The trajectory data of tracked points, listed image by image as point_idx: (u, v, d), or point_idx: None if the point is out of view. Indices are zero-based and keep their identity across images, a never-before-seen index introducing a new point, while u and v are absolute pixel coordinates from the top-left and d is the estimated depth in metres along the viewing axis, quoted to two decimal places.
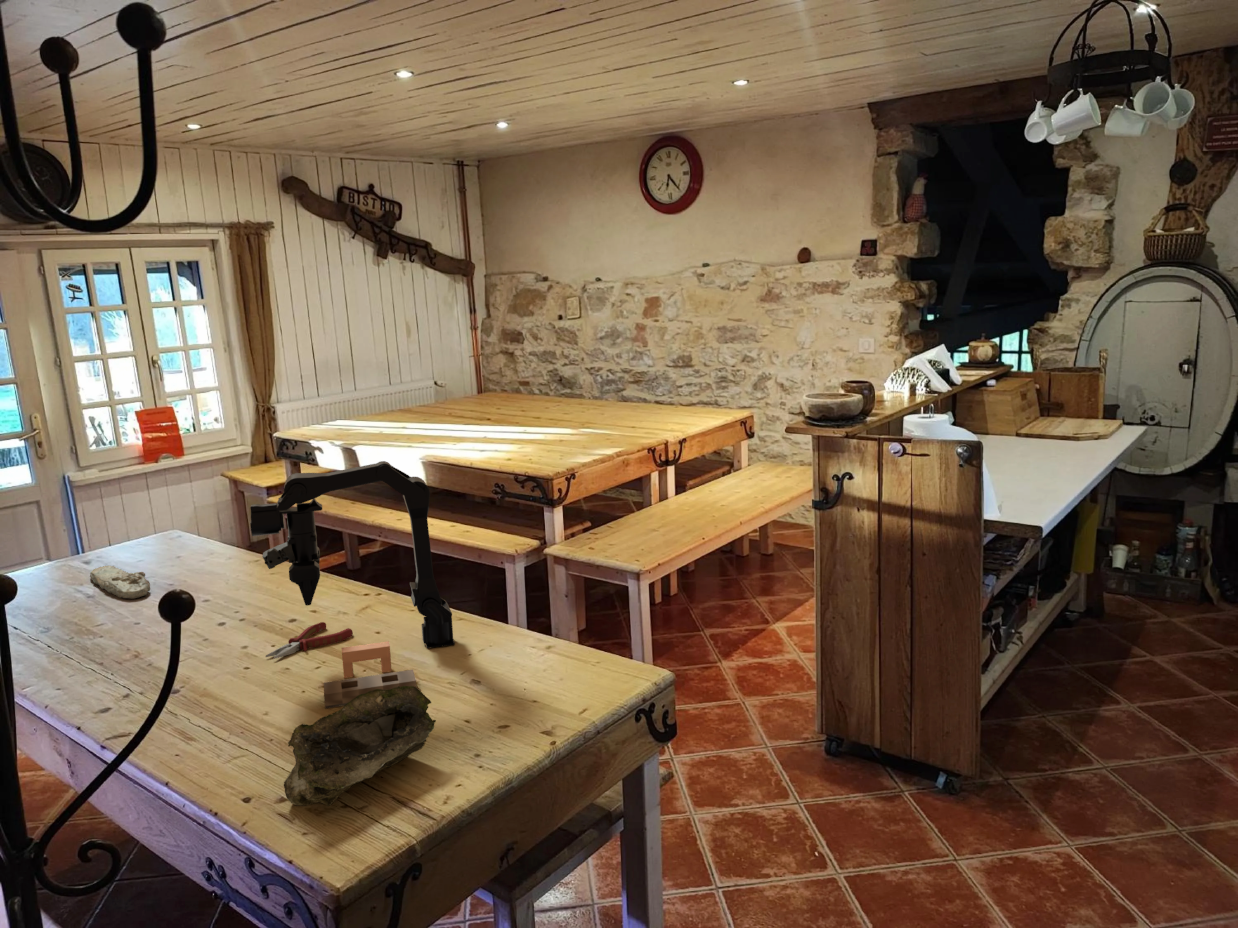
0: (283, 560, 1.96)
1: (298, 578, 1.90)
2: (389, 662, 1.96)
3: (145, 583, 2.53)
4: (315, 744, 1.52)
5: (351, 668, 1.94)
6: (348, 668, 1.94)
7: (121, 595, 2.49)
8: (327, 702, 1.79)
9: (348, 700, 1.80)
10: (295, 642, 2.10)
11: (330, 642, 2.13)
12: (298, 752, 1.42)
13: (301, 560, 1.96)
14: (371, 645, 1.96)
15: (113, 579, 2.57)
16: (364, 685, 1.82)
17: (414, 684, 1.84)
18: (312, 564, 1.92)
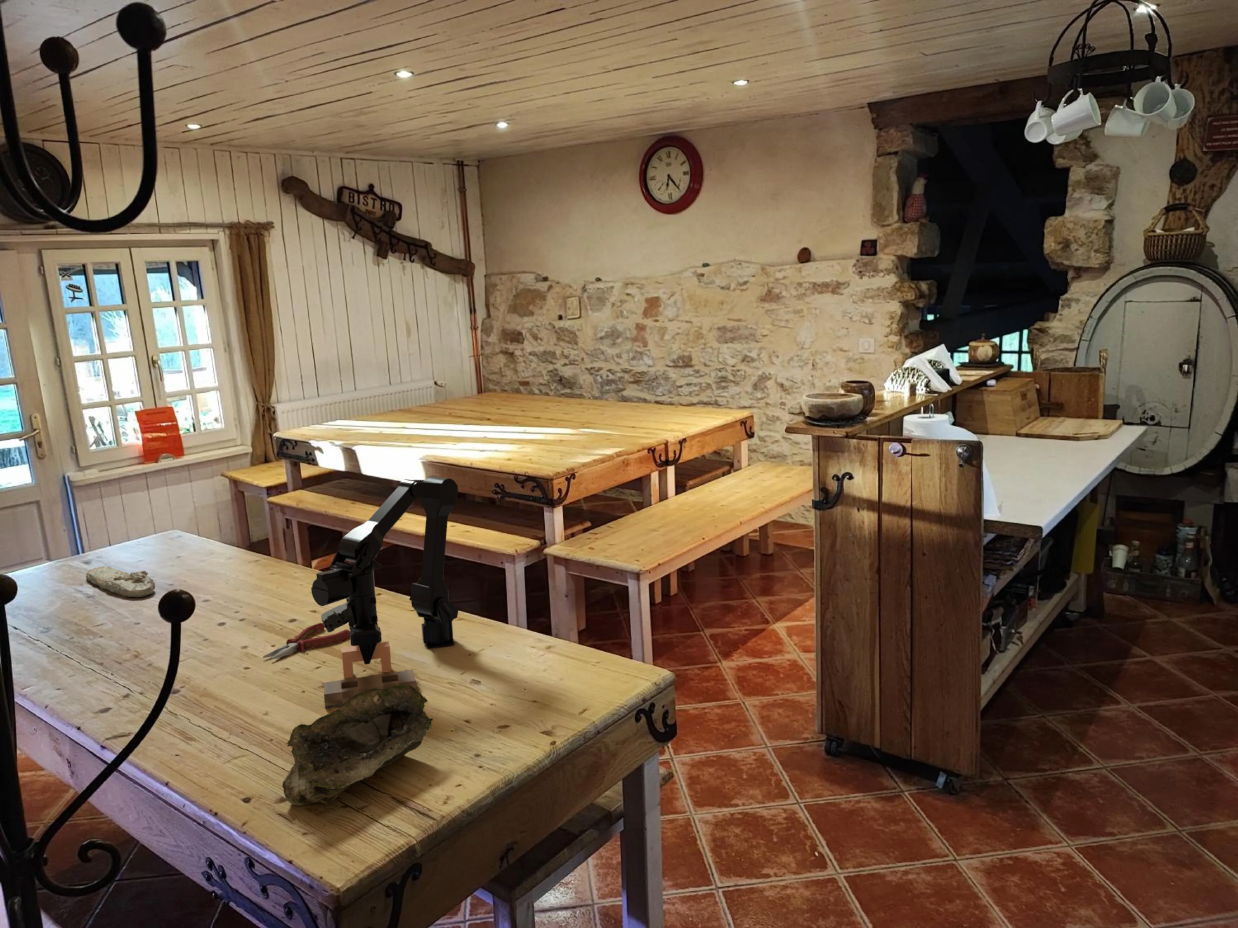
0: (342, 623, 1.90)
1: (360, 643, 1.85)
2: (389, 662, 1.96)
3: (150, 582, 2.54)
4: (312, 744, 1.52)
5: (351, 668, 1.94)
6: (348, 668, 1.94)
7: (127, 594, 2.50)
8: (327, 702, 1.79)
9: None
10: (293, 643, 2.10)
11: (328, 643, 2.13)
12: (298, 752, 1.42)
13: (361, 623, 1.91)
14: None
15: (115, 579, 2.57)
16: (364, 685, 1.82)
17: (414, 684, 1.84)
18: (374, 628, 1.87)
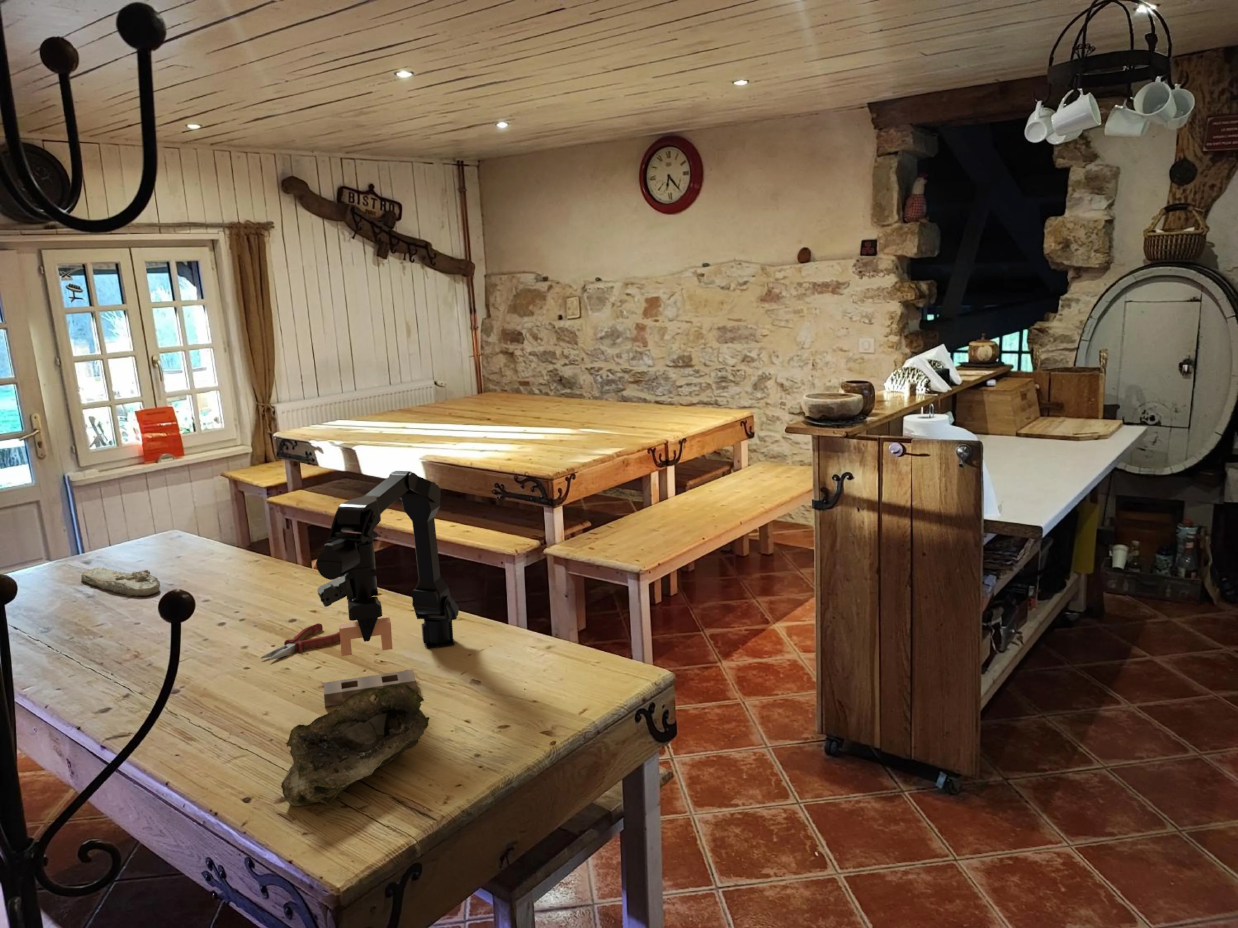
0: (340, 597, 1.77)
1: (359, 618, 1.72)
2: (390, 639, 1.83)
3: (155, 580, 2.56)
4: (310, 744, 1.52)
5: (349, 645, 1.81)
6: (346, 645, 1.81)
7: (133, 593, 2.51)
8: (327, 702, 1.79)
9: None
10: (291, 644, 2.09)
11: (326, 644, 2.12)
12: (297, 753, 1.42)
13: (360, 597, 1.78)
14: None
15: (117, 578, 2.57)
16: (364, 685, 1.82)
17: (414, 684, 1.84)
18: (374, 602, 1.74)
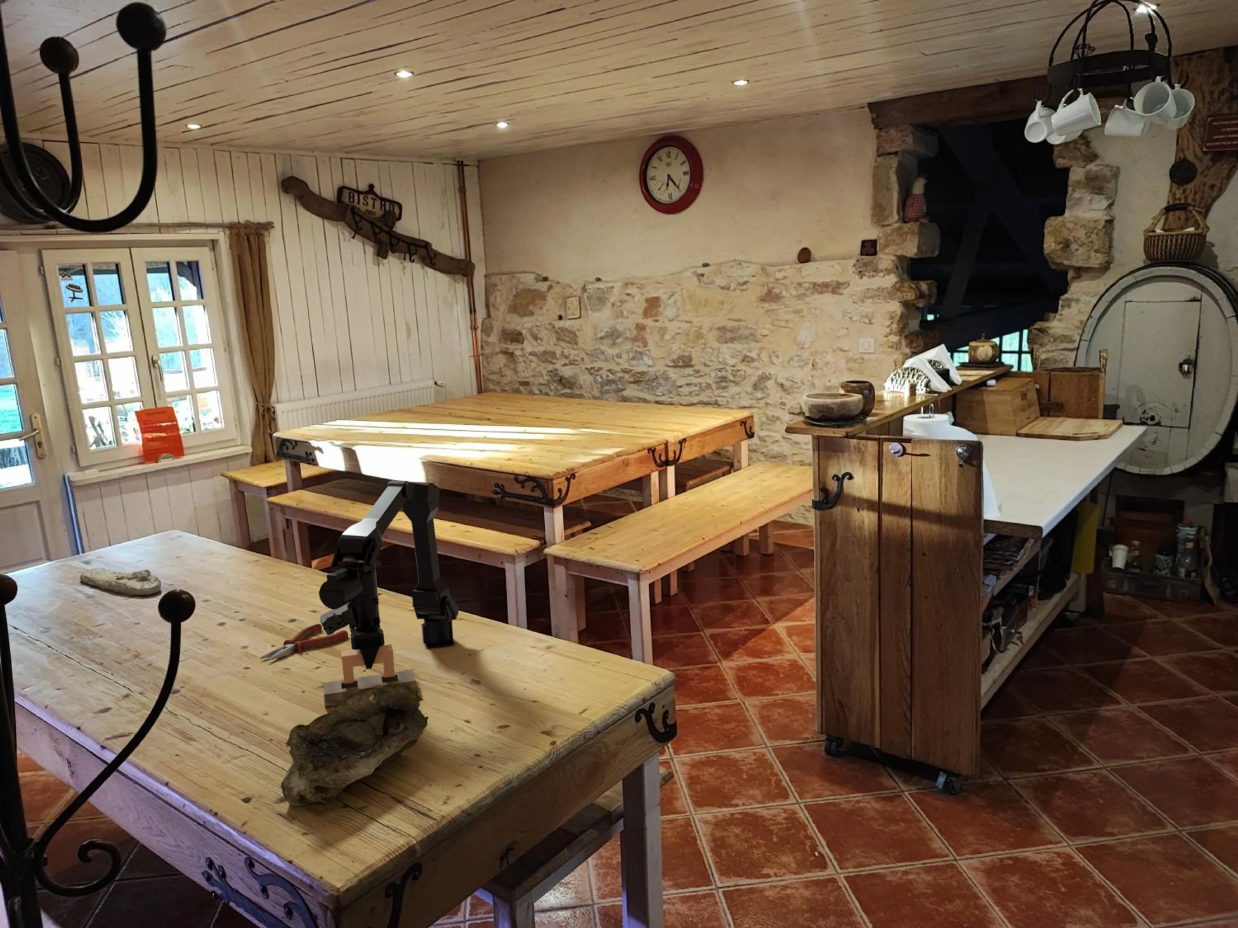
0: (343, 625, 1.78)
1: (361, 647, 1.73)
2: (392, 666, 1.84)
3: (156, 579, 2.56)
4: (309, 744, 1.52)
5: (352, 673, 1.82)
6: (348, 673, 1.82)
7: (135, 592, 2.51)
8: (327, 702, 1.79)
9: None
10: (290, 644, 2.09)
11: (325, 644, 2.12)
12: (297, 753, 1.42)
13: (362, 625, 1.79)
14: None
15: (118, 578, 2.57)
16: (364, 685, 1.82)
17: (414, 684, 1.84)
18: (376, 631, 1.75)
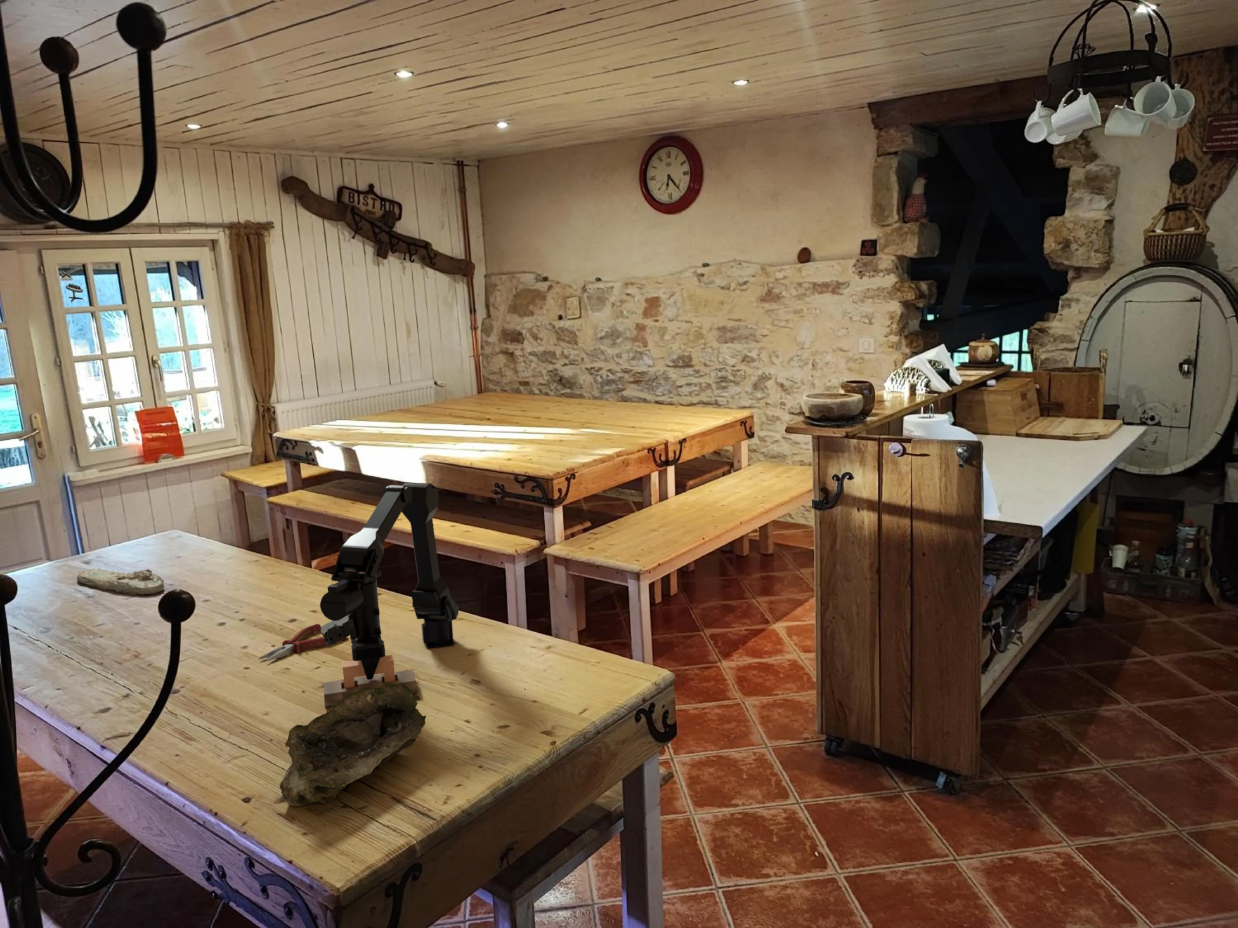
0: (344, 636, 1.79)
1: (362, 658, 1.74)
2: (393, 677, 1.85)
3: (159, 579, 2.57)
4: (307, 745, 1.52)
5: (352, 684, 1.82)
6: (349, 684, 1.82)
7: (138, 592, 2.52)
8: (327, 702, 1.79)
9: None
10: (289, 644, 2.09)
11: (324, 645, 2.12)
12: (296, 753, 1.42)
13: (363, 636, 1.80)
14: None
15: (119, 578, 2.57)
16: (364, 685, 1.82)
17: (414, 684, 1.84)
18: (377, 642, 1.75)
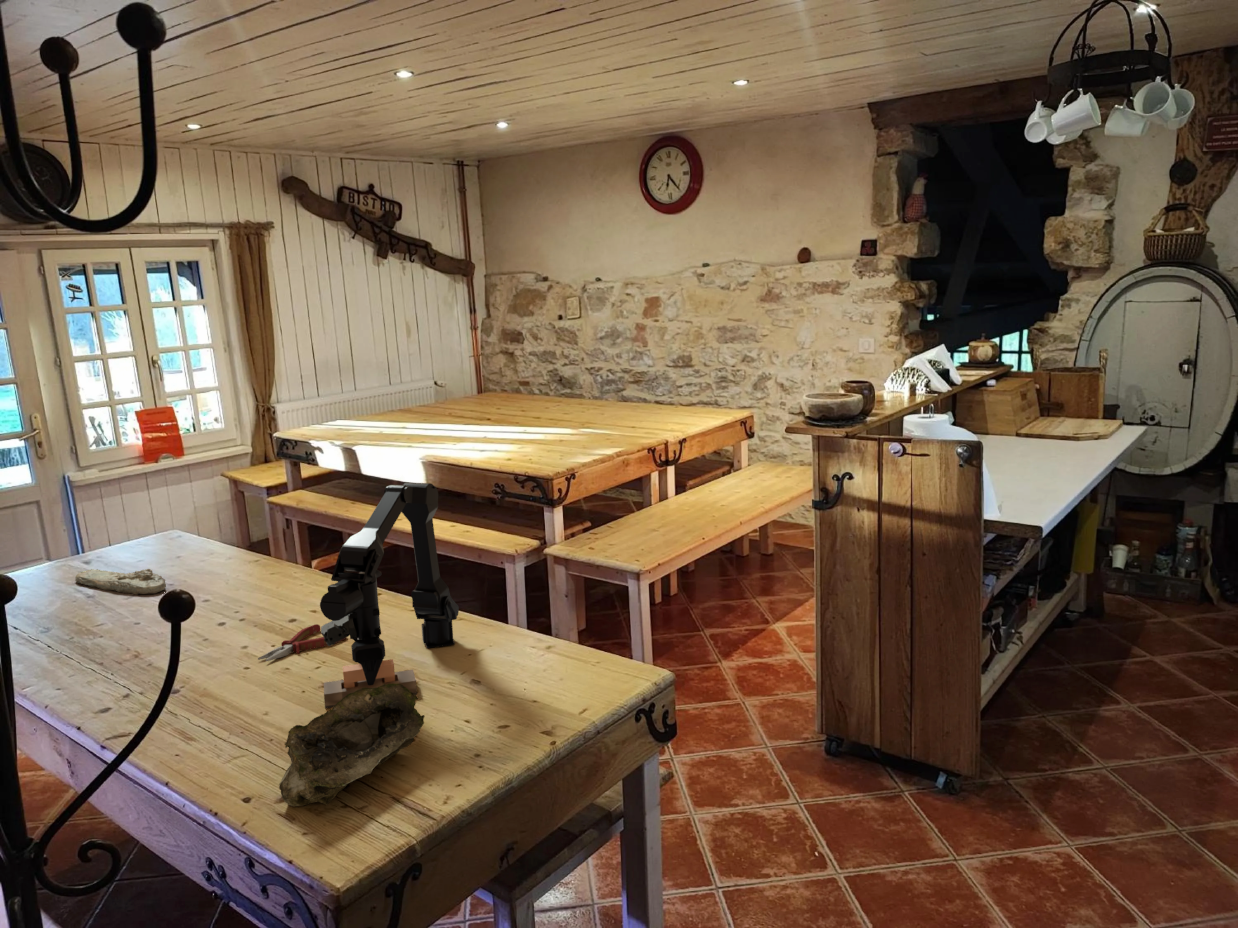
0: (344, 636, 1.79)
1: (362, 658, 1.74)
2: None
3: (160, 578, 2.57)
4: (306, 745, 1.52)
5: None
6: None
7: (140, 591, 2.52)
8: (327, 702, 1.79)
9: None
10: (288, 644, 2.09)
11: (323, 645, 2.12)
12: (296, 753, 1.42)
13: (363, 636, 1.80)
14: None
15: (120, 578, 2.57)
16: (364, 685, 1.82)
17: (414, 684, 1.84)
18: (377, 642, 1.75)
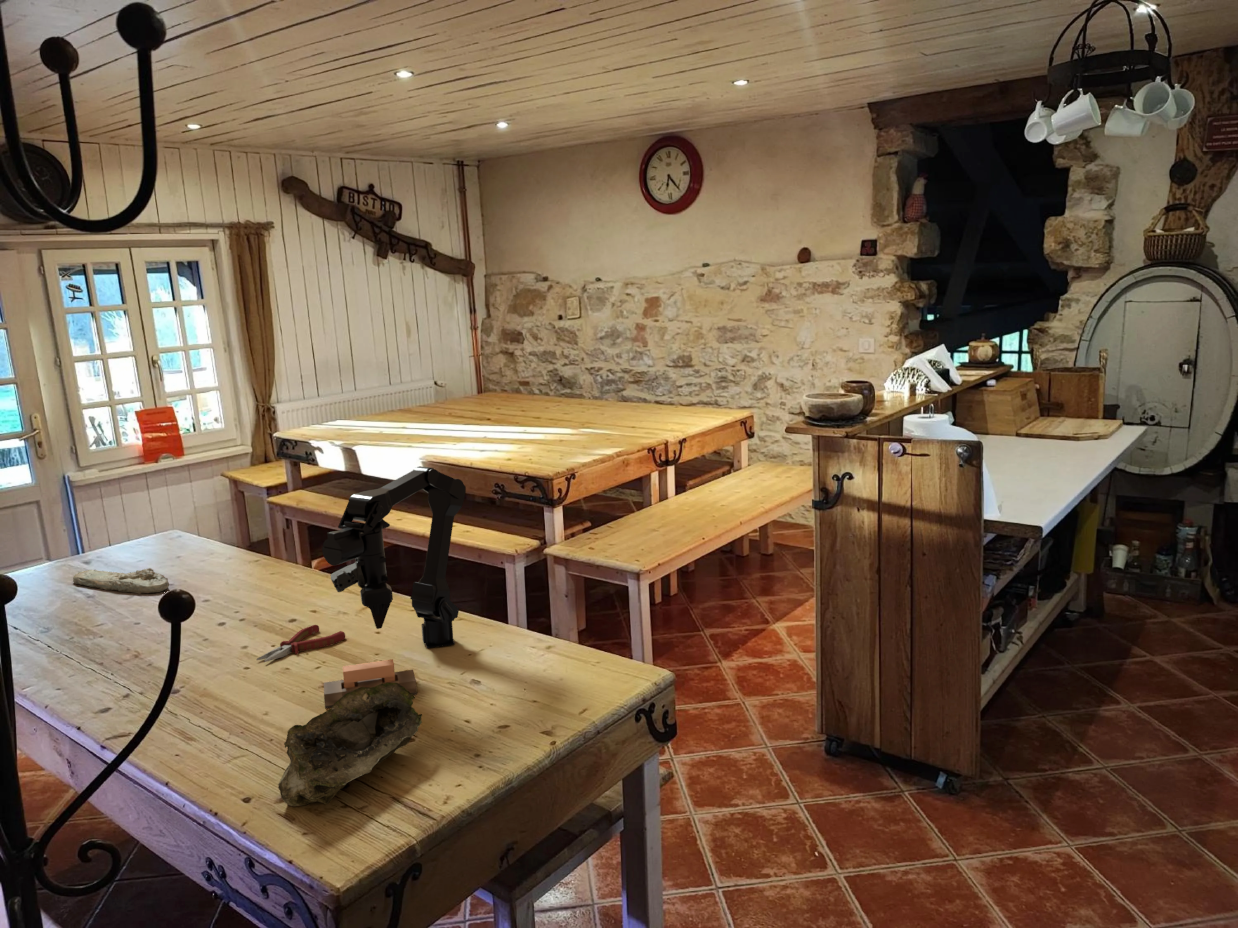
0: (352, 583, 1.89)
1: (371, 602, 1.84)
2: None
3: (163, 577, 2.58)
4: (304, 745, 1.52)
5: None
6: None
7: (144, 590, 2.53)
8: (327, 702, 1.79)
9: None
10: (287, 645, 2.09)
11: (322, 645, 2.11)
12: (296, 753, 1.42)
13: (371, 582, 1.90)
14: (374, 663, 1.84)
15: (121, 578, 2.57)
16: (364, 685, 1.82)
17: (414, 684, 1.84)
18: (384, 587, 1.86)
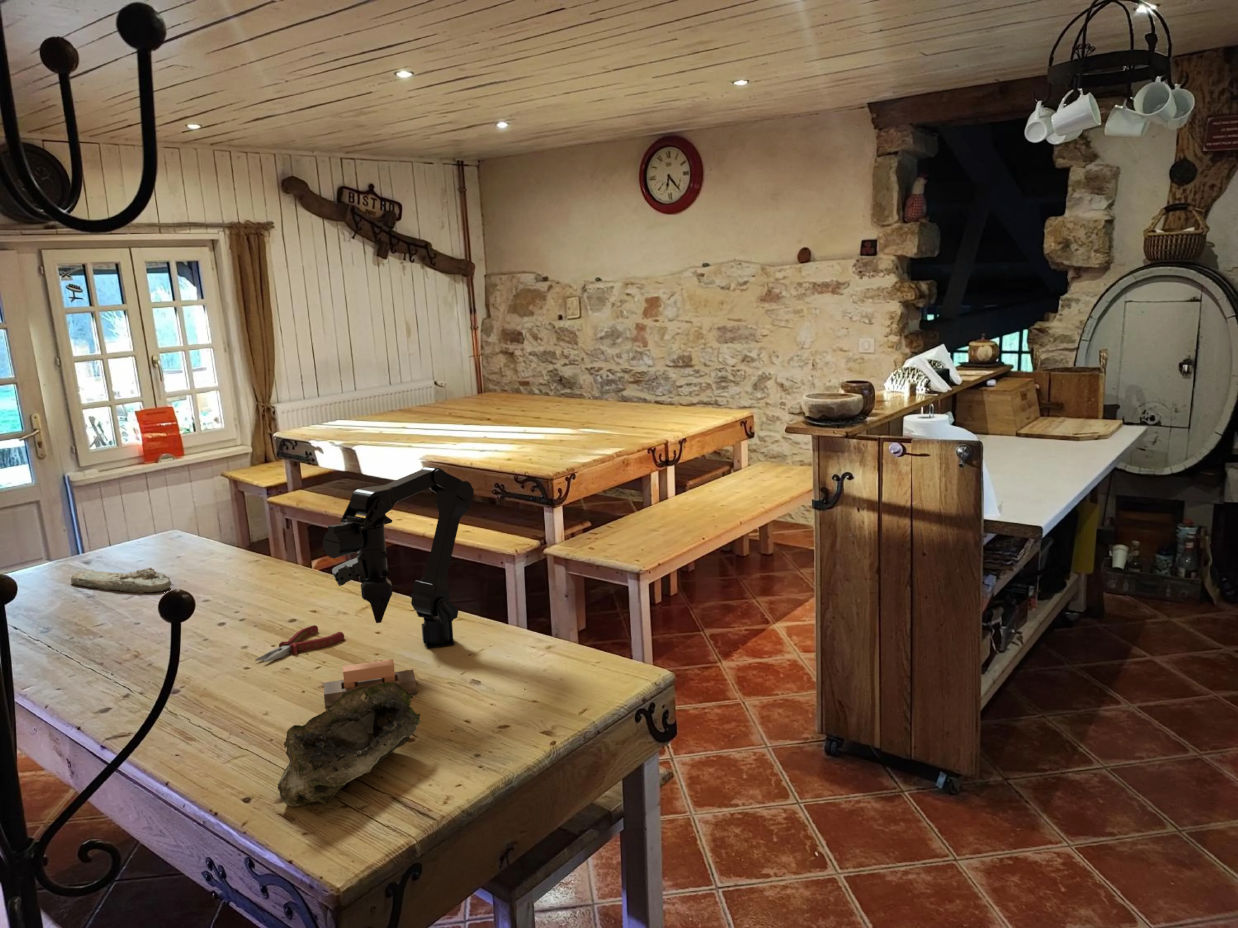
0: (353, 577, 1.91)
1: (371, 595, 1.86)
2: None
3: (165, 576, 2.59)
4: (303, 745, 1.52)
5: None
6: None
7: (146, 589, 2.54)
8: (327, 702, 1.79)
9: None
10: (285, 646, 2.08)
11: (321, 646, 2.11)
12: (295, 753, 1.42)
13: (371, 577, 1.92)
14: (374, 663, 1.84)
15: (122, 578, 2.58)
16: (364, 685, 1.82)
17: (414, 684, 1.84)
18: (384, 581, 1.88)
